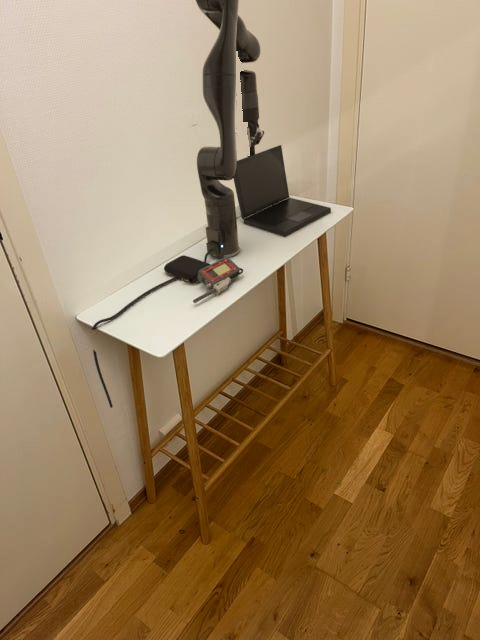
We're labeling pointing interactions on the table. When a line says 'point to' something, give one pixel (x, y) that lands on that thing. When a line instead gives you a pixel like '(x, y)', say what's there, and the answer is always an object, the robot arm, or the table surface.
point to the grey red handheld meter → (218, 276)
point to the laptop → (287, 216)
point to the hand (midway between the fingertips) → (251, 156)
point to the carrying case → (185, 268)
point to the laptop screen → (260, 181)
